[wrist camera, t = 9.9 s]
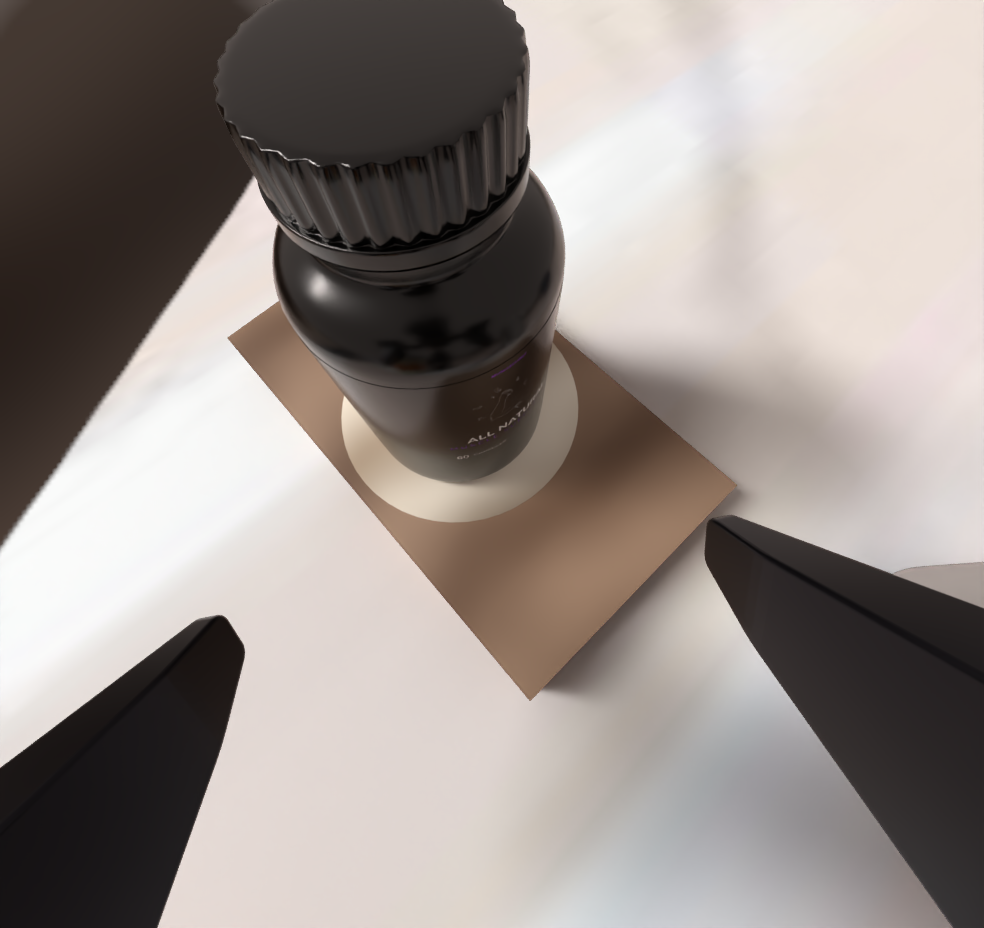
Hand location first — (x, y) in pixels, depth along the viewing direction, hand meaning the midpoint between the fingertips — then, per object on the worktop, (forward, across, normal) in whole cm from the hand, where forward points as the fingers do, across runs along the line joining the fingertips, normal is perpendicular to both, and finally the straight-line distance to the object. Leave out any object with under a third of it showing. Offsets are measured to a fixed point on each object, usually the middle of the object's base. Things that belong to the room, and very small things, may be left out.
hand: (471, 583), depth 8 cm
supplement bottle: (+11, 0, 0) cm, 11 cm away
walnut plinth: (+12, 0, +2) cm, 12 cm away
